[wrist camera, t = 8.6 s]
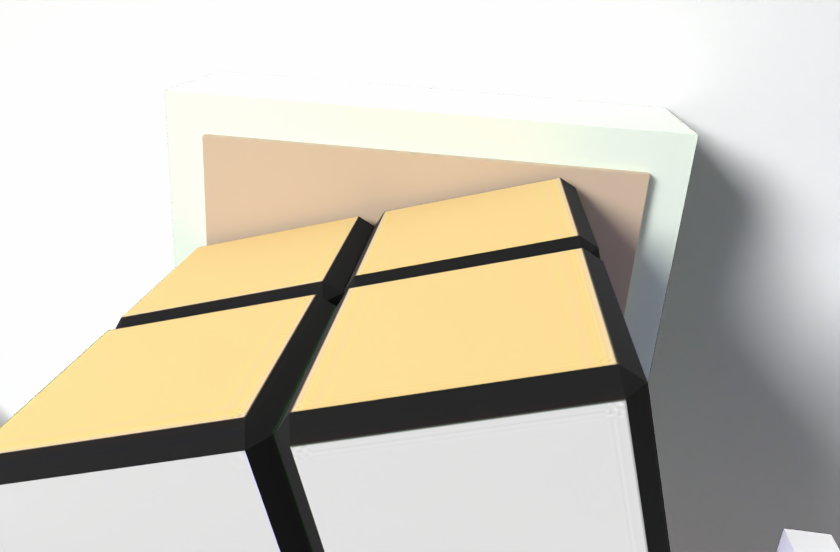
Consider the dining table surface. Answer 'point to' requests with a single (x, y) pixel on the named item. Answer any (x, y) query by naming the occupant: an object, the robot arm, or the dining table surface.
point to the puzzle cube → (355, 398)
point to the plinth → (425, 165)
